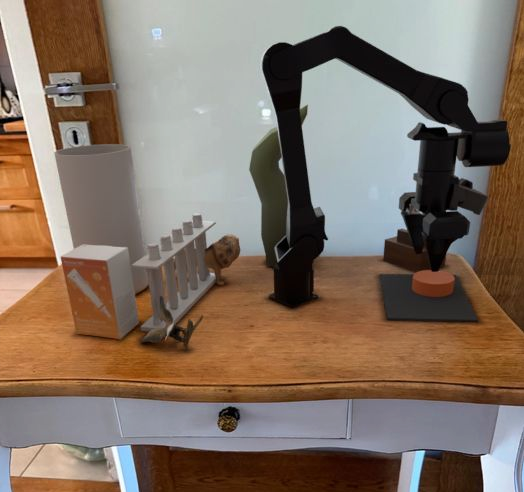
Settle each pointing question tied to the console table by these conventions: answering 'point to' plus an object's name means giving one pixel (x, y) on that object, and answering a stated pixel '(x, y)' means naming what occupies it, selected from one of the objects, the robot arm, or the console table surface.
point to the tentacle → (271, 190)
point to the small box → (101, 290)
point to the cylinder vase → (103, 200)
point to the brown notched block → (405, 253)
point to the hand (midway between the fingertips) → (426, 262)
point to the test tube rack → (164, 256)
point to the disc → (433, 283)
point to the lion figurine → (220, 255)
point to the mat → (423, 302)
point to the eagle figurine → (171, 328)
